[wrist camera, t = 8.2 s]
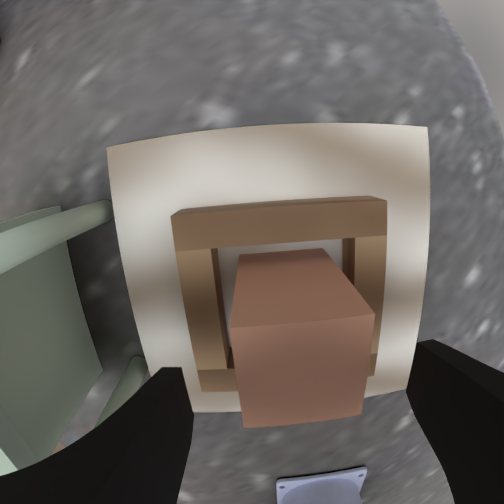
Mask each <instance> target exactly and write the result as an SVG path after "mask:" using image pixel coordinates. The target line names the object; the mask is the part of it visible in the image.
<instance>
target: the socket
mask: <svg viewBox="0 0 504 504" xmlns="http://www.w3.org/2000/svg"><path fill="white" fill-rule="evenodd" d="M107 158H108V169H109V179H110V187H111V196H112V203H113V210H114V217H115V224H116V230H117V236H118V242H119V248H120V253H121V259H122V264H123V269H124V274H125V279H126V283H127V288H128V293H129V297H130V301H131V306H132V310H133V314H134V318H135V322H136V326H137V330H138V333H139V337H140V341H141V344H142V348H143V352H144V355H145V358H146V362H147V365H148V368H149V372H150V375H151V377H152V376H153V375H154V374H155V373H156V372H157V371H158V370H159V369H160V368H161V367H182V371H183V375H184V379H185V383H186V387H187V391H188V395H189V399H190V402H191V406H192V410H193V412H239V411H241V407H240V400H239V393H238V387H237V380H236V373H235V366H234V359H233V352H232V344H231V337H230V329H229V327H230V319H231V312H232V305H233V297H234V290H235V283H236V275H237V268H238V261H239V255H240V254H252V253H265V252H278V251H290V250H303V249H316V248H323V249H324V250H325V251H326V252H327V253H328V255H329V256H330V257H331V258H332V260H333V261H334V262H335V263H336V264H337V266H338V267H339V268H340V269H341V271H342V272H343V273H344V274H345V276H346V277H347V278H348V279H349V281H350V282H351V283H352V285H353V286H354V287H355V288H356V290H357V291H358V292H359V293H360V295H361V296H362V297H363V299H364V300H365V301H366V302H367V304H368V305H369V306H370V308H371V309H372V310H373V312H374V313H375V320H374V330H373V339H372V348H371V356H370V363H369V370H368V377H367V383H366V390H365V396H364V398H365V397H370V396H375V395H380V394H385V393H389V392H394V391H398V390H402V389H406V386H407V382H408V378H409V374H410V370H411V365H412V361H413V356H414V351H415V346H416V341H417V335H418V330H419V324H420V317H421V311H422V304H423V297H424V288H425V280H426V270H427V259H428V245H429V226H430V163H429V144H428V131H427V127H419V126H406V125H391V124H368V123H300V124H277V125H261V126H247V127H236V128H226V129H216V130H207V131H199V132H192V133H184V134H177V135H171V136H164V137H158V138H152V139H147V140H141V141H136V142H131V143H125V144H120V145H116V146H111V147H107Z"/></svg>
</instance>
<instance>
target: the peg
mask: <svg viewBox="0 0 504 504" xmlns="http://www.w3.org/2000/svg"><path fill="white" fill-rule="evenodd" d="M374 320H375V313H374V312H373V310H372V309H371V308H370V306H369V305H368V304H367V302H366V301H365V300H364V299H363V297H362V296H361V295H360V293H359V292H358V291H357V290H356V288H355V287H354V286H353V285H352V283H351V282H350V281H349V279H348V278H347V277H346V276H345V274H344V273H343V272H342V271H341V269H340V268H339V267H338V266H337V264H336V263H335V262H334V261H333V260H332V258H331V257H330V256H329V255H328V253H327V252H326V251H325V250H324V249H323V248H316V249H303V250H290V251H278V252H265V253H252V254H240V255H239V261H238V268H237V275H236V283H235V290H234V297H233V305H232V312H231V319H230V327H229V329H230V337H231V344H232V352H233V359H234V366H235V373H236V380H237V387H238V393H239V400H240V407H241V413H242V420H243V426H244V428H255V427H270V426H283V425H293V424H302V423H311V422H318V421H326V420H332V419H339V418H345V417H351V416H356V415H361V412H362V407H363V401H364V396H365V390H366V383H367V377H368V370H369V363H370V356H371V348H372V339H373V330H374Z"/></svg>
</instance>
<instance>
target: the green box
mask: <svg viewBox="0 0 504 504" xmlns="http://www.w3.org/2000/svg"><path fill="white" fill-rule="evenodd" d="M113 217H114V210H113V204H112V202H111V201H109V200H106V199H104V200H100V201H96V202H93V203H89V204H86V205H83V206H79V207H76V208H73V209H69V210H66V211H63V212H61V206H54V207H49V208H45V209H40V210H35V211H32V212H29V213H25V214H22V215H19V216H15V217H12V218H9V219H6V220H3V221H0V476H2V475H5V474H8V473H11V472H14V471H17V470H20V469H23V468H25V467H28V466H30V465H33V464H35V463H37V462H39V461H41V460H43V459H45V458H47V457H49V456H51V454H52V453H53V451H54V449H55V448H56V446H57V444H58V442H59V441H60V439H61V437H62V436H63V434H64V432H65V431H66V429H67V427H68V425H69V424H70V422H71V421H72V419H73V417H74V416H75V414H76V412H77V411H78V409H79V407H80V406H81V404H82V403H83V401H84V399H85V398H86V396H87V395H88V393H89V391H90V390H91V388H92V387H93V385H94V383H95V382H96V380H97V379H98V377H99V376H100V374H101V373H102V371H103V369H102V366H101V364H100V361H99V358H98V355H97V353H96V350H95V347H94V344H93V341H92V338H91V335H90V332H89V329H88V325H87V322H86V319H85V315H84V312H83V309H82V305H81V301H80V298H79V294H78V290H77V286H76V282H75V278H74V274H73V270H72V265H71V261H70V256H69V252H68V247H67V242H66V240H69V239H71V238H73V237H75V236H77V235H79V234H81V233H83V232H86V231H88V230H90V229H92V228H94V227H96V226H99V225H101V224H103V223H105V222H108V221H110V220H111V219H112V218H113ZM147 370H148V365H147V362H146V360H145V359H144V358H142V357H140V356H135V357H133V358H132V359H131V361H130V363H129V364H128V366H127V368H126V370H125V372H124V373H123V375H122V377H121V379H120V381H119V382H118V384H117V386H116V388H115V390H114V391H113V393H112V395H111V397H110V399H109V401H108V403H107V404H106V406H105V408H104V410H103V412H102V414H101V416H100V418H99V419H98V421H97V423H96V425H95V427H94V428H96V427H97V426H98V425H99V424H101V423H102V422H103V421H104V420H105V419H107V418H108V417H109V416H110V415H111V414H113V413H114V412H115V411H116V410H117V409H118V408H120V407H121V406H122V405H123V404H124V403H125V402H126V401H127V400H128V399H129V398H130V397H131V396H133V395H134V394H135V393H136V392H137V391H138V389H139V387H140V385H141V383H142V380H143V378H144V376H145V374H146V372H147Z"/></svg>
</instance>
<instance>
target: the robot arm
mask: <svg viewBox="0 0 504 504" xmlns="http://www.w3.org/2000/svg"><path fill="white" fill-rule="evenodd" d="M406 393H407V396H408V399H409V402H410V404H411V407H412V410H413V412H414V415H415V417H416V419H417V421H418V423H419V424H420V426H421V428H422V430H423V432H424V434H425V436H426V437H427V439H428V441H429V443H430V445H431V446H432V448H433V450H434V452H435V454H436V456H437V458H438V460H439V461H440V463H441V465H442V468H443V470H444V472H445V474H446V477H447V480H448V483H449V486H450V489H451V492H452V495H453V498H454V502H455V504H504V373H503V372H501V371H499V370H496V369H494V368H492V367H490V366H488V365H486V364H484V363H481V362H479V361H477V360H475V359H473V358H471V357H469V356H467V355H465V354H463V353H461V352H459V351H458V350H455V349H453V348H451V347H449V346H447V345H445V344H443V343H441V342H438V341H436V340H433V339H431V340H427V341H422V342H418V343H417V344H416V349H415V354H414V359H413V364H412V368H411V373H410V377H409V381H408V385H407V389H406ZM193 420H194V413H193V410H192V406H191V402H190V399H189V395H188V391H187V387H186V383H185V379H184V375H183V371H182V367H161V368H160V369H159V370H158V371H157V372H156V373H155V374H154V375H153V376H152V377H151V378H150V379H149V380H148V381H147V382H146V383H145V384H144V385H143V386H142V387H141V388H140V389H139V390H138V391H137V392H136V393H135V394H134V395H133V396H131V397H130V398H129V399H128V400H127V401H126V402H125V403H124V404H123V405H122V406H121V407H120V408H118V409H117V410H116V411H115V412H114V413H113V414H111V415H110V416H109V417H108V418H107V419H105V420H104V421H103V422H102V423H101V424H99V425H98V426H97V427H96V428H94V429H93V430H92V431H90V432H89V433H87V434H86V435H85V436H83V437H82V438H80V439H79V440H77V441H76V442H74V443H72V444H71V445H69V446H68V447H66V448H64V449H63V450H61V451H59V452H57V453H55V454H53V455H51V456H49V457H47V458H45V459H43V460H41V461H39V462H37V463H35V464H33V465H30V466H28V467H25V468H23V469H20V470H17V471H14V472H11V473H8V474H5V475H2V476H0V504H177V498H178V494H179V490H180V486H181V482H182V478H183V474H184V470H185V466H186V462H187V458H188V454H189V450H190V445H191V439H192V431H193ZM366 473H367V468H366V467H360V468H355V469H350V470H344V471H339V472H333V473H327V474H320V475H313V476H305V477H296V478H286V479H279V480H277V481H276V490H277V504H362V502H361V498H360V494H359V493H360V490H361V487H362V485H363V482H364V479H365V476H366Z"/></svg>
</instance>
